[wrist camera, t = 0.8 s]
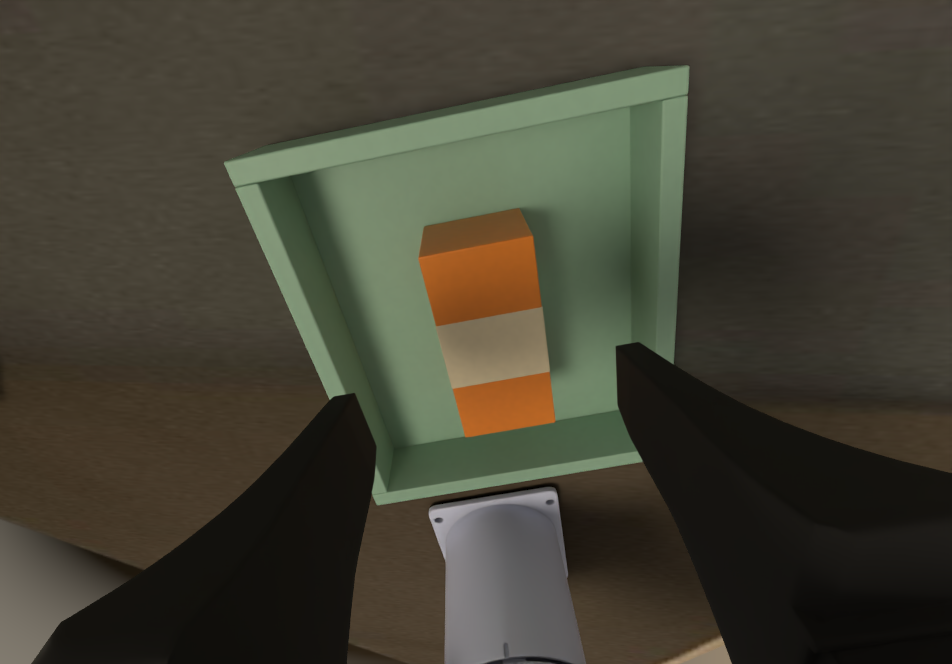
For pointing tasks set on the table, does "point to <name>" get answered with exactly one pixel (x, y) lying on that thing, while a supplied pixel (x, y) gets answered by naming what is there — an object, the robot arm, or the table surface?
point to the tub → (468, 195)
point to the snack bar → (489, 320)
